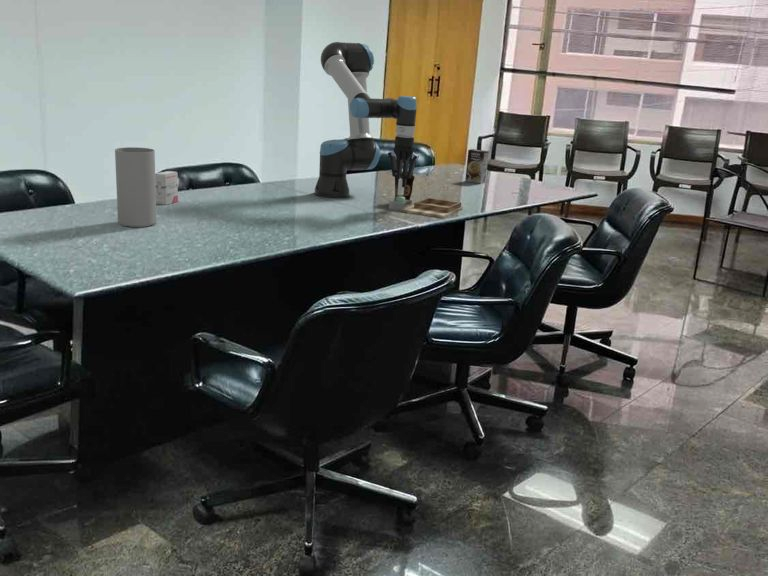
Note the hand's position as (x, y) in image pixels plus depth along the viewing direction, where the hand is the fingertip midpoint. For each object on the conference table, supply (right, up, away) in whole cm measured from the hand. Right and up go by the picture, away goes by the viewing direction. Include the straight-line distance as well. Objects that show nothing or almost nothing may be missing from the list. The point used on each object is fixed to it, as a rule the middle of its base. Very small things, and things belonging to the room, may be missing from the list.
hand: (400, 194), depth 312 cm
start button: (0, -4, +1) cm, 5 cm away
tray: (+13, -6, +2) cm, 15 cm away
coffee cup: (+1, -2, +14) cm, 14 cm away
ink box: (-91, -5, -14) cm, 92 cm away
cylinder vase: (-91, -16, -50) cm, 105 cm away
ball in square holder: (0, -6, +1) cm, 6 cm away
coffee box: (+40, +16, +80) cm, 91 cm away
